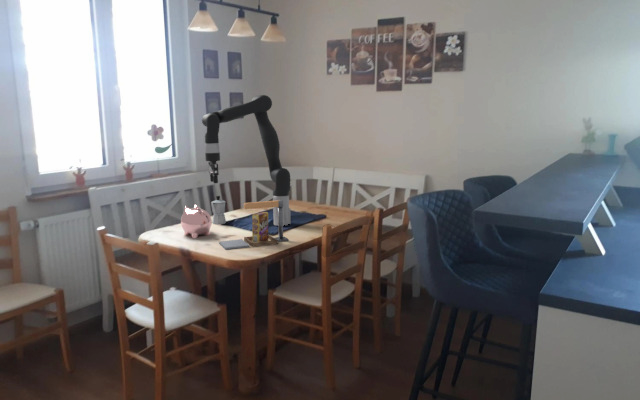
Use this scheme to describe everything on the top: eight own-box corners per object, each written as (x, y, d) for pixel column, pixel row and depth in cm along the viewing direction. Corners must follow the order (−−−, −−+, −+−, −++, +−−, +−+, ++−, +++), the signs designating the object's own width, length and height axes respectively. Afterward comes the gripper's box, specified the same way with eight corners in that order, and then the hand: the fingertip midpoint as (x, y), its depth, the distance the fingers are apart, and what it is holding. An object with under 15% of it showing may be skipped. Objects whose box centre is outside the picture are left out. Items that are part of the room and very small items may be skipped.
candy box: (259, 244, 255) (258, 215, 252) (252, 243, 257) (251, 214, 254) (269, 241, 262) (268, 212, 260) (262, 240, 264) (261, 211, 262)
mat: (241, 241, 263) (241, 239, 262) (249, 247, 250) (249, 245, 250) (219, 243, 258) (218, 241, 258) (225, 249, 245) (225, 247, 245)
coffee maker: (220, 228, 294) (219, 197, 291) (207, 227, 297) (205, 197, 294) (232, 223, 308) (231, 194, 305) (220, 222, 311) (218, 193, 308)
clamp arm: (282, 205, 263) (281, 199, 263) (284, 206, 260) (284, 200, 260) (243, 208, 255) (243, 202, 254) (245, 209, 252) (245, 203, 251)
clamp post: (284, 238, 268) (283, 205, 265) (288, 240, 262) (287, 207, 260) (273, 239, 265) (272, 206, 263) (277, 242, 260) (276, 208, 257)
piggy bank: (200, 230, 288) (198, 203, 286) (217, 235, 276) (216, 206, 273) (175, 235, 278) (174, 206, 275) (192, 240, 265) (191, 210, 263)
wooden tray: (269, 238, 268) (269, 234, 268) (277, 243, 256) (277, 240, 256) (244, 240, 263) (244, 237, 263) (251, 246, 251) (251, 242, 250)
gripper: (222, 152, 261) (224, 183, 264) (216, 150, 274) (218, 180, 277) (207, 153, 258) (209, 184, 261) (202, 151, 271) (204, 181, 274)
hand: (214, 182), depth 269 cm, fingers open, 8 cm apart
